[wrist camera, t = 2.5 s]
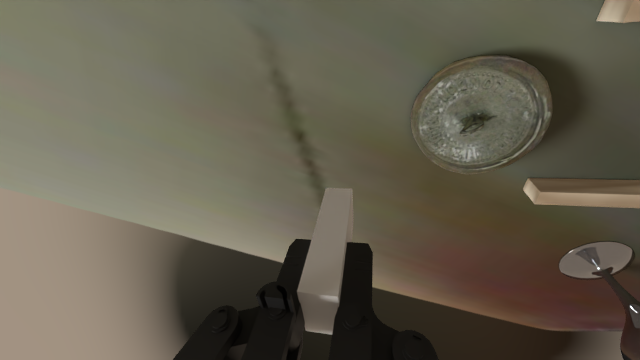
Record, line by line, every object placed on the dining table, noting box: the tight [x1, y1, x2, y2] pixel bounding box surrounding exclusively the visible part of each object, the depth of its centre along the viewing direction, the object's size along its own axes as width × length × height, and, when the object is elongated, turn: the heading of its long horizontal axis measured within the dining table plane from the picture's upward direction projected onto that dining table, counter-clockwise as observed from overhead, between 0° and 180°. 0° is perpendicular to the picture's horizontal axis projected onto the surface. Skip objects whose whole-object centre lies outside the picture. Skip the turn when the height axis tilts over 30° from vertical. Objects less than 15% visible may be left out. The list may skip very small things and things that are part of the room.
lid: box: [411, 55, 553, 174], centre depth 22 cm, size 11×10×5 cm
